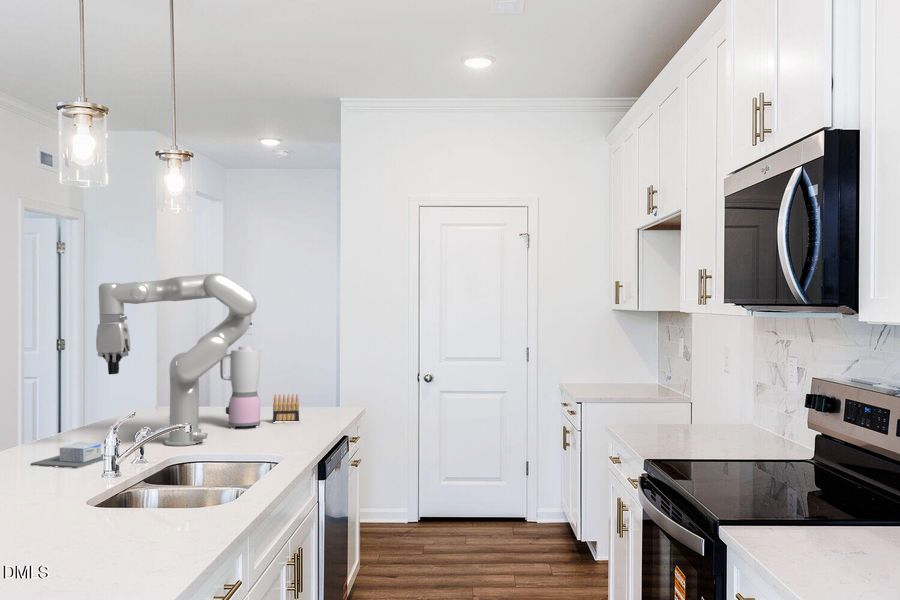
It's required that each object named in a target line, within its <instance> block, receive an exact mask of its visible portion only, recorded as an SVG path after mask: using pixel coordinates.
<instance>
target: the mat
mask: <svg viewBox="0 0 900 600" xmlns="http://www.w3.org/2000/svg"><path fill="white" fill-rule="evenodd" d="M103 455H104V454H102V453H101V457H100V458H97V459H93V460H90V461H87V462H83V463H82V462H65V461H60V454H59V455H55V456H53V457H48V458H45V459H42V460H41V459H40V460H38V461H33V462H30V466H34V465H39V466H38V467H49V466H58V467H57V468H64V467H72V468H71V469H79V467H80V468H83V467H86V466H90V465H93V464H95V462H96V463H99V462H101V461H104V460H103ZM98 461H99V462H98ZM92 463H93V464H92ZM85 465H86V466H85ZM82 466H83V467H82Z"/></svg>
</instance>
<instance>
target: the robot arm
mask: <svg viewBox="0 0 900 600" xmlns="http://www.w3.org/2000/svg"><path fill="white" fill-rule="evenodd" d="M211 298H213V299H214V298H215V299H216V300H217V301H219V302H220V303H222V304H223V305H224V306H226V307H227V308H228V315H227V316H226V317H225V319H224V320H223V321H222V322H220V323H219V324H218V325H216V326H215V327H214V328H213V329H211V330H210V331H209V332H207V333H206V334H204V335H203V336H201V337H200V338H199V339H198V341H197V343H196V344H195V345H194V346H193V347H191V348H190V349H188V350H187V351H186V352H179V353H178V354H175V356H173V357H172V359H171V361H170V363H169V387H170V388H169V426H170V425H172V424H177V423H191V424H192V426H193V430H192V432H191V433H186V432H185V431H184V430H183V429H179V430H175V431H171V432H170V431H169V434H168V435H169V438H166V439H164V445H167V446H176V447H177V446H183V447H184V446H193V445H197V444H196V443H198V444H200V443H199V442H201V443H203V442H202V441H204V440H206V439H207V438H208V435H209V434H208V433H207V432H202V428H199V411H200V410H199V407H200V406H199V403H200V402H199V397H200V383H199V382H200V381H199V378H201V377H202V376H203V375H204V374H206V373H207V372H208V371H210V370H211V369H212V368H213V367H215V366H216V365H217V364H218V363H219V362H220V361H221V360H222V359H223V358H224V357H225V355H226V354H228V351H229V348H230V347H231V346H232V345H234V344H235V343H236V342H237V341H238V340H240V339H241V338H242V337H243V336H244V335H245V333H247V331H248V329H249V327H250V325H251V321H252V316H253V314H254V313H255V312H256V309H257V307H258V305H257V303H258V302H257V299H256V298H255V296H254V295H253V294H251V293H250V292H249V291H247V290H246V289H245V288H243V287H242V286H241V285H239V284H238V283H237V282H235V281H234V280H232V279H231V278H230V277H228V276H227V275H225V274H224V273H220V272H215V273H208V274H198V275H197V274H195V275H194V274H193V275H183V276H182V275H181V276H174V277H170V278H166V279H160V280H151V281H132V282H131V281H130V282H126V283H120V282H119V283H118V282H107V283H105V282H102V283H100V284H99V286H98V305H99V306H98V307H99V308H98V309H99V310H98V311H99V312H98V313H99V314H98V315H99V317H98V319H99V323H98V325H97V329H96V339H95V341H96V342H95V347H96V351H97V357H99V358H100V357H101V358H103V359H104V360H105V362H106V363H107V371H108V373H107V374H108V375H117V374H119V373H120V362H121V361H122V359H123V357H124V358H125V357H128V356H129V352H130V351H131V346H132V345H131V338H130V337H131V336H130V330H129V327H128V324H127V322H126V323H125V321H127V319H128V316H127V315H125V304H133V305H138V304H139V305H140V304H148V303H155V302H157V303H158V302H180V301H181V302H182V301H191V300H201V299H211Z"/></svg>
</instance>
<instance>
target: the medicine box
mask: <svg viewBox="0 0 900 600" xmlns="http://www.w3.org/2000/svg"><path fill="white" fill-rule="evenodd" d="M101 454H102V443H98V442H97V443H96V442H81V441H80V442H75V443H71V444H66V445H63V446H60V447H59V455H60V461H65V462H82V463H83V462H87V461H90V460H93V459H97V458H100V457H101Z"/></svg>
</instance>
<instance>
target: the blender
mask: <svg viewBox="0 0 900 600" xmlns="http://www.w3.org/2000/svg"><path fill="white" fill-rule="evenodd" d="M261 352H262V350H261V349H253V347H252V345H251V346H249V345H246V346H244V345H240V346H238V349H232V350H231V351H230V353H227V354H226V355H225V357H224V358H223V359H222V360H221V361H220V364H219V368H220V372H219V373H220V379H222V380H224V381H230V383H231V390H232V391H231V396H230V398H229V400H228V406H226V407H225V415H228V425H229V426H230V428H231V427H232V428H235V429H236V428H237V427H253V426H255V427H256V426H259V425H261V399H260V397H259V395H258V387H259V380H260V373H261V372H260V365H261V360H260V359H261V358H260V353H261ZM226 359H230V362H229V363H230V364H229V367H230V371H229V374H230V375H225V374H226ZM259 427H260V426H259Z"/></svg>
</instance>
